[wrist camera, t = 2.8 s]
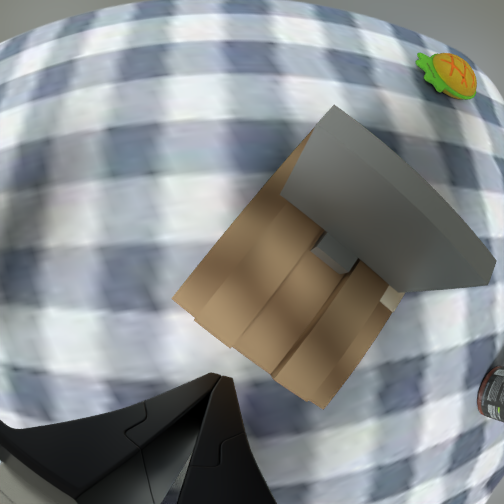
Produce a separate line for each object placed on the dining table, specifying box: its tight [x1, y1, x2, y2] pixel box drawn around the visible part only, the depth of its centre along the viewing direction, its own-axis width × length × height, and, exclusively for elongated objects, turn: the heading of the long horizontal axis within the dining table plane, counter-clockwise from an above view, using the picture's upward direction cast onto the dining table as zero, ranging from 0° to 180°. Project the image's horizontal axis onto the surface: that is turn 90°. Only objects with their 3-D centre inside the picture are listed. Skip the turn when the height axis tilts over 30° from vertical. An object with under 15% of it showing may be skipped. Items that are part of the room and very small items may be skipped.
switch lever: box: [280, 105, 496, 293], centre depth 17 cm, size 4×11×11 cm, turn 52°
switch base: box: [172, 127, 405, 410], centre depth 22 cm, size 20×14×3 cm
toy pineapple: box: [416, 53, 477, 100], centre depth 26 cm, size 7×10×5 cm
